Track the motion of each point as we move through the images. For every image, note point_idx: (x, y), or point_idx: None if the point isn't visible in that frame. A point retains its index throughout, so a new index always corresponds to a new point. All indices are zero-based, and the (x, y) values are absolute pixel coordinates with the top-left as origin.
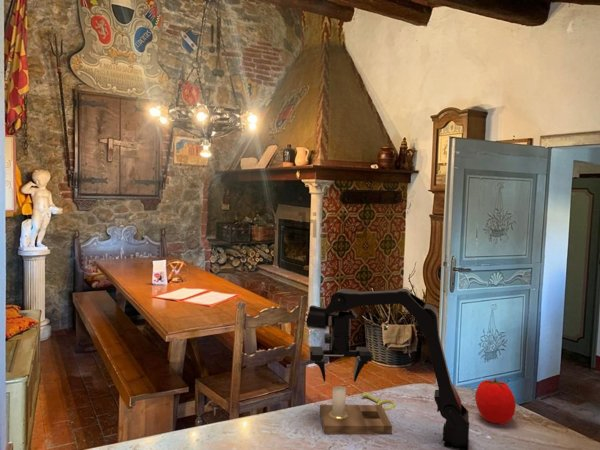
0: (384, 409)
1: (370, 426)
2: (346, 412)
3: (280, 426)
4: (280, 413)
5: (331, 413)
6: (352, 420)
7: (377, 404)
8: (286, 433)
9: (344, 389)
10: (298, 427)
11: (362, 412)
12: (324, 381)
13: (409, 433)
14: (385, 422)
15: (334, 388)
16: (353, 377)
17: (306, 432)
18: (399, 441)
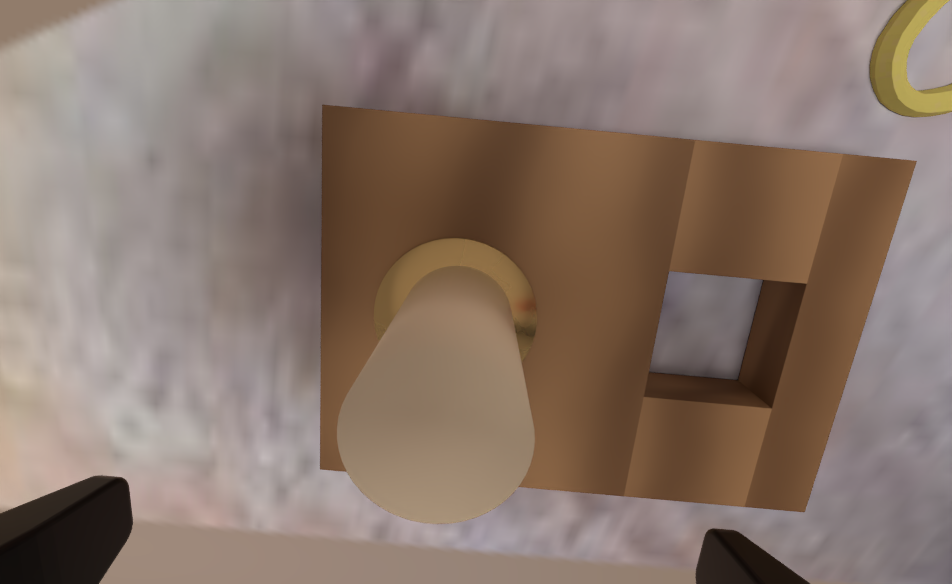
0: (915, 113)
1: (648, 494)
2: (531, 296)
3: (47, 312)
4: (17, 100)
5: (399, 301)
6: (544, 416)
7: (900, 41)
8: (98, 404)
9: (506, 473)
10: (173, 337)
11: (676, 270)
12: (113, 542)
13: (885, 475)
14: (781, 464)
15: (363, 427)
16: (743, 574)
17: (226, 404)
18: (771, 548)
